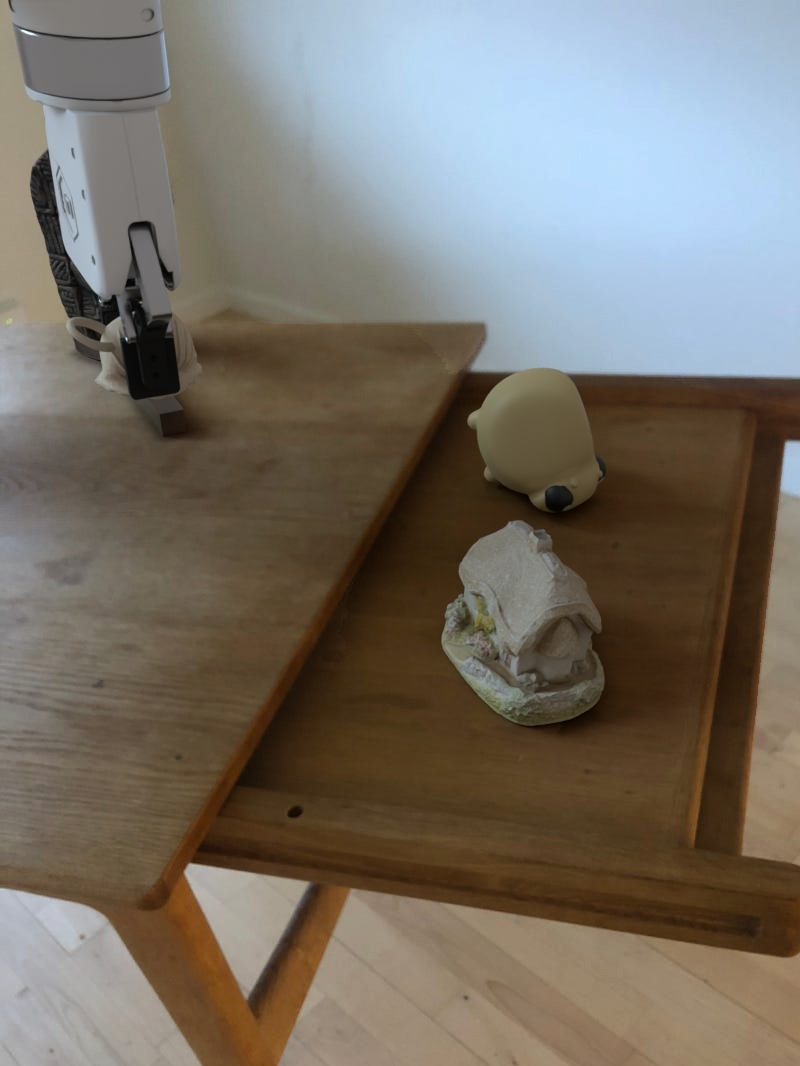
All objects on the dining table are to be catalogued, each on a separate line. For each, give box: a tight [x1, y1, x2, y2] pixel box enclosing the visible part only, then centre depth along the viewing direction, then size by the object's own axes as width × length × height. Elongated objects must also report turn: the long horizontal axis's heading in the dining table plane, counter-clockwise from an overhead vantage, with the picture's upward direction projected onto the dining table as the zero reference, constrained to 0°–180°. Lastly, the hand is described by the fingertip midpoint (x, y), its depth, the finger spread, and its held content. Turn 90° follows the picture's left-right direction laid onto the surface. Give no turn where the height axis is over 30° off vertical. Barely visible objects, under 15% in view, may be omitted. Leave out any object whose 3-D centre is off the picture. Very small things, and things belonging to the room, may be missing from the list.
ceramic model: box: [441, 519, 606, 727], centre depth 63 cm, size 14×11×10 cm
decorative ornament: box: [65, 311, 203, 399], centre depth 62 cm, size 4×8×5 cm, turn 121°
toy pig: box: [467, 367, 607, 513], centre depth 80 cm, size 10×12×11 cm
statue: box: [29, 147, 141, 361], centre depth 91 cm, size 7×7×20 cm
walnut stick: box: [136, 395, 188, 437], centre depth 89 cm, size 2×14×2 cm, turn 32°
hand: (144, 376), depth 64 cm, fingers closed on decorative ornament, 4 cm apart
